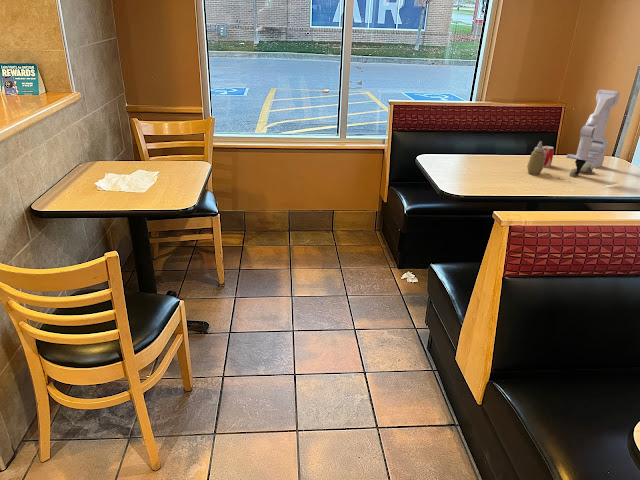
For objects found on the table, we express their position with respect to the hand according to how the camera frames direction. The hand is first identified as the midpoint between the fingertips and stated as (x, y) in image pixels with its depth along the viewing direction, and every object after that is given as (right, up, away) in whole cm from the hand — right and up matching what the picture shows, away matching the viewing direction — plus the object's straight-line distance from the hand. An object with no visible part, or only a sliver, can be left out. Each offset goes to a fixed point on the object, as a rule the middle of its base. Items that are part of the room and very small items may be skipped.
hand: (577, 173), depth 252 cm
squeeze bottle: (-20, +1, +7) cm, 22 cm away
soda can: (-10, +6, +17) cm, 21 cm away
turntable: (+4, 0, +5) cm, 6 cm away
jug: (+7, +2, +7) cm, 10 cm away
